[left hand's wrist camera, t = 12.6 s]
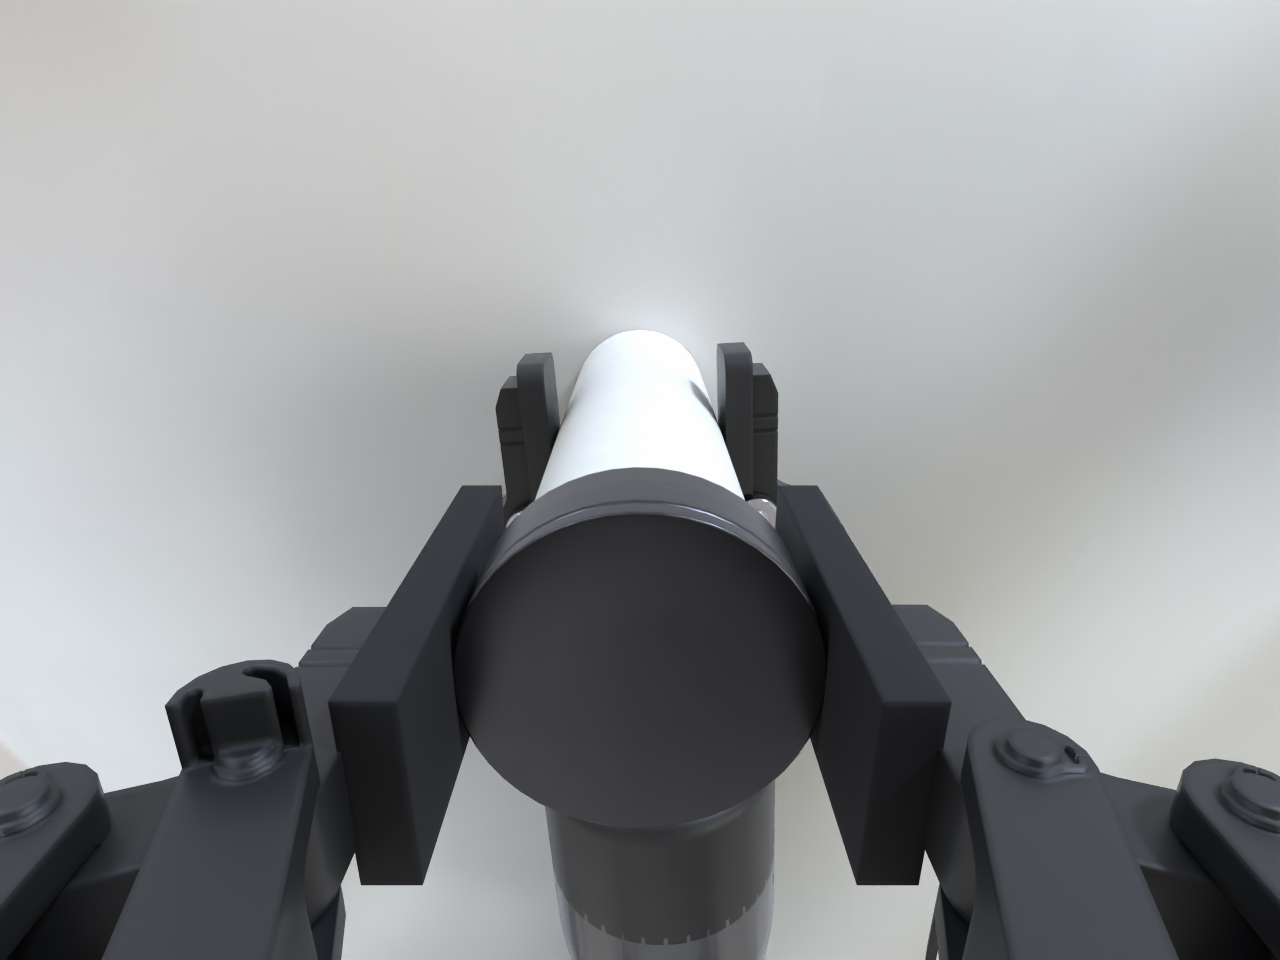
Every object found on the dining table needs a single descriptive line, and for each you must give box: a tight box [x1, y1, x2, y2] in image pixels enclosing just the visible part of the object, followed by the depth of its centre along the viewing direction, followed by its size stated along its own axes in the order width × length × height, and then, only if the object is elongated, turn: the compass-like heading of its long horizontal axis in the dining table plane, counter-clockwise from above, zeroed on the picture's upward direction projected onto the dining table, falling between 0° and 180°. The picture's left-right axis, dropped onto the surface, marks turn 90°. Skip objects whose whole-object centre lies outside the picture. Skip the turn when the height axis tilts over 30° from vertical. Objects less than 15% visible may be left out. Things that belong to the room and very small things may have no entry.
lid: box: [453, 467, 828, 828], centre depth 11 cm, size 5×5×2 cm
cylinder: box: [535, 330, 745, 500], centre depth 19 cm, size 4×4×17 cm
